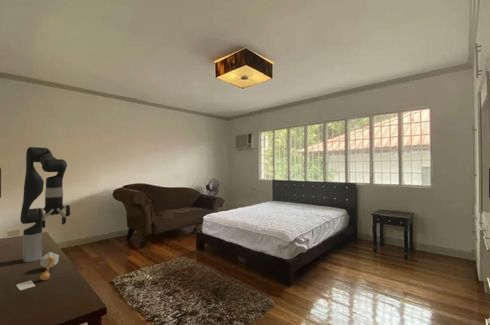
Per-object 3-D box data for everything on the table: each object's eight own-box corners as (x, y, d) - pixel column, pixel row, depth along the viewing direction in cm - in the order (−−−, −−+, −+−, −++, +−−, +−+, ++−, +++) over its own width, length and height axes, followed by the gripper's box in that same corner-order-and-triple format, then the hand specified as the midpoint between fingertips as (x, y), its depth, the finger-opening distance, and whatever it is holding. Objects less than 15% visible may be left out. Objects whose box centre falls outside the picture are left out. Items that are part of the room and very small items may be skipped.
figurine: (37, 279, 127) (38, 256, 128) (51, 275, 132) (52, 253, 133) (42, 283, 123) (43, 260, 123) (56, 279, 127) (57, 256, 128)
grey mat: (16, 285, 121) (16, 284, 121) (31, 280, 126) (31, 280, 126) (19, 290, 115) (19, 290, 115) (35, 286, 120) (35, 285, 120)
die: (48, 272, 136) (48, 255, 136) (35, 271, 137) (36, 253, 138) (62, 266, 144) (62, 249, 144) (50, 265, 146) (50, 248, 146)
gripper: (67, 194, 136) (66, 222, 136) (34, 196, 124) (34, 227, 124) (72, 195, 132) (71, 224, 131) (39, 197, 120) (39, 229, 120)
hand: (53, 225), depth 128 cm, fingers open, 8 cm apart
